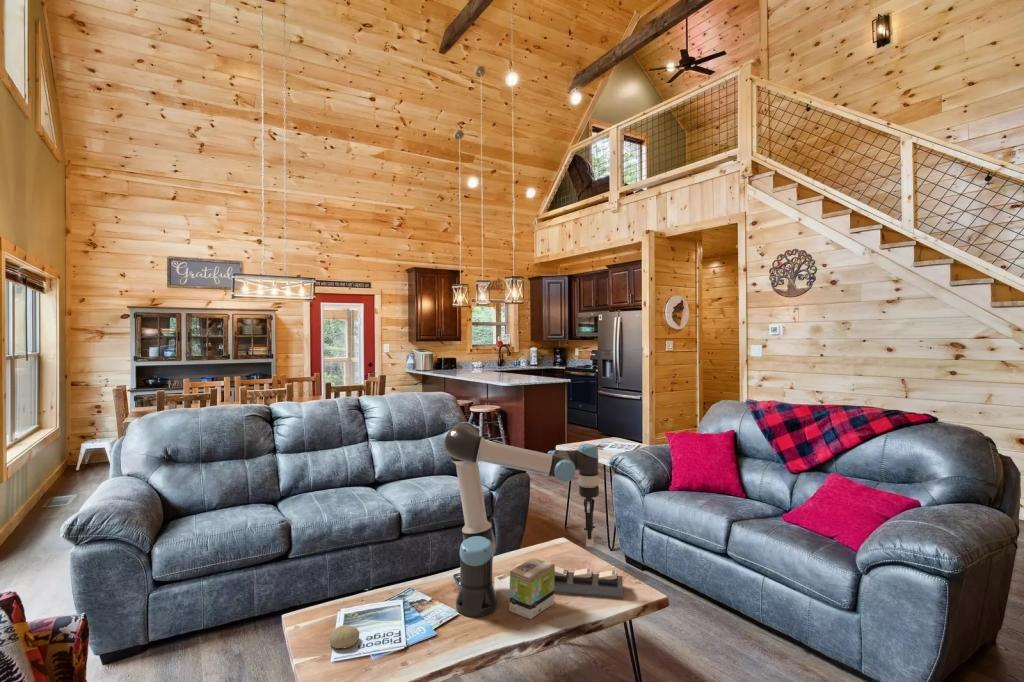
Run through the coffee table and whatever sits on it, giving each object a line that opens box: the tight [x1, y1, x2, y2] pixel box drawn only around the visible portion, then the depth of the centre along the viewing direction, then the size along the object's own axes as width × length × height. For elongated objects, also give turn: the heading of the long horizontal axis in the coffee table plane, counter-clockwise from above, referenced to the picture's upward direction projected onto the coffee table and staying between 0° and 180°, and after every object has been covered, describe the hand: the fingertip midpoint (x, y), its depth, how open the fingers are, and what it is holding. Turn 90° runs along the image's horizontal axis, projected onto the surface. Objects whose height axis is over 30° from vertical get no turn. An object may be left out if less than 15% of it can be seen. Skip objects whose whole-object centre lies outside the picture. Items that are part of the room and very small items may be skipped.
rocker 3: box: [598, 569, 618, 580], centre depth 207 cm, size 6×4×2 cm
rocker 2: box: [573, 567, 593, 578], centre depth 209 cm, size 6×4×2 cm
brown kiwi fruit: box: [329, 624, 360, 649], centre depth 174 cm, size 9×8×8 cm
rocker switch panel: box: [554, 569, 624, 599], centre depth 209 cm, size 30×10×6 cm, turn 79°
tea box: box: [508, 557, 556, 620], centre depth 196 cm, size 15×10×15 cm, turn 143°
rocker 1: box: [555, 565, 568, 576], centre depth 211 cm, size 6×4×2 cm
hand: (589, 546), depth 209 cm, fingers closed
